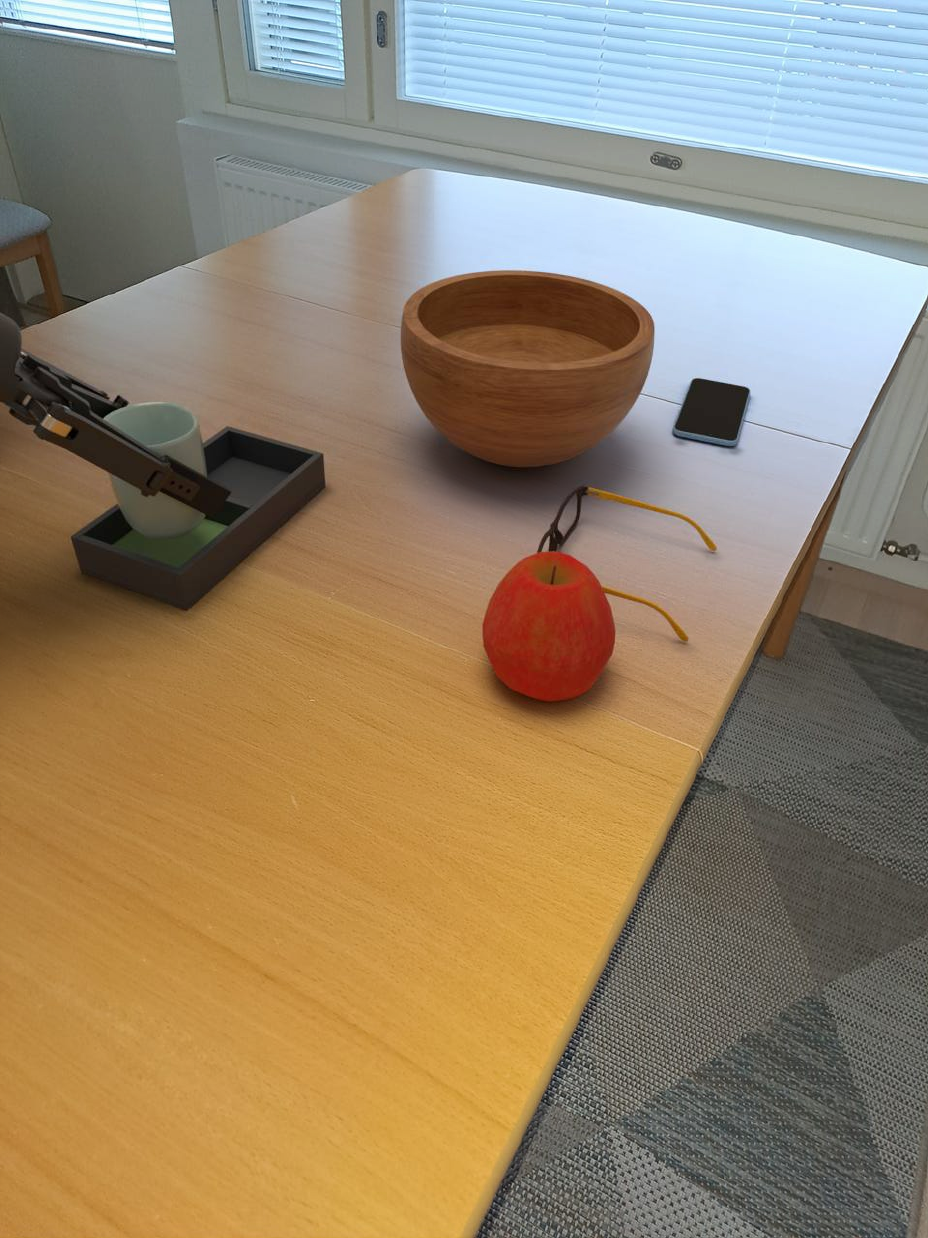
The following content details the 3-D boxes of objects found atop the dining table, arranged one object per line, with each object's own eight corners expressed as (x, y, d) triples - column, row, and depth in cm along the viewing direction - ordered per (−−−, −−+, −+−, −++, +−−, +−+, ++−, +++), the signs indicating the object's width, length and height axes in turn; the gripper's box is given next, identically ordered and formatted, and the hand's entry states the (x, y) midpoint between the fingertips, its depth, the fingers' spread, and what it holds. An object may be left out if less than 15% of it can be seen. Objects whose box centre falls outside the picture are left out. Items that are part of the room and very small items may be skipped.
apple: (474, 628, 76) (480, 524, 69) (595, 626, 77) (613, 523, 70) (484, 717, 68) (493, 610, 62) (619, 714, 69) (642, 608, 62)
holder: (80, 572, 80) (70, 536, 77) (231, 458, 95) (227, 425, 93) (187, 610, 76) (179, 574, 74) (325, 486, 92) (323, 453, 89)
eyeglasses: (568, 515, 90) (573, 480, 87) (715, 551, 86) (725, 516, 83) (522, 599, 79) (526, 562, 77) (687, 644, 76) (696, 607, 73)
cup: (188, 492, 84) (170, 392, 78) (231, 531, 80) (215, 428, 73) (107, 521, 80) (81, 417, 74) (147, 563, 76) (123, 457, 69)
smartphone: (752, 386, 111) (737, 442, 100) (750, 393, 112) (736, 449, 101) (691, 375, 113) (671, 428, 102) (690, 381, 113) (669, 435, 102)
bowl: (355, 437, 100) (349, 301, 90) (522, 378, 112) (533, 253, 103) (508, 545, 85) (521, 397, 76) (680, 463, 98) (710, 327, 88)
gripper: (9, 350, 55) (279, 501, 72) (-67, 247, 67) (178, 397, 85) (-57, 451, 56) (225, 575, 73) (-120, 332, 68) (133, 462, 86)
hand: (200, 480), depth 79 cm, fingers closed on cup, 8 cm apart
